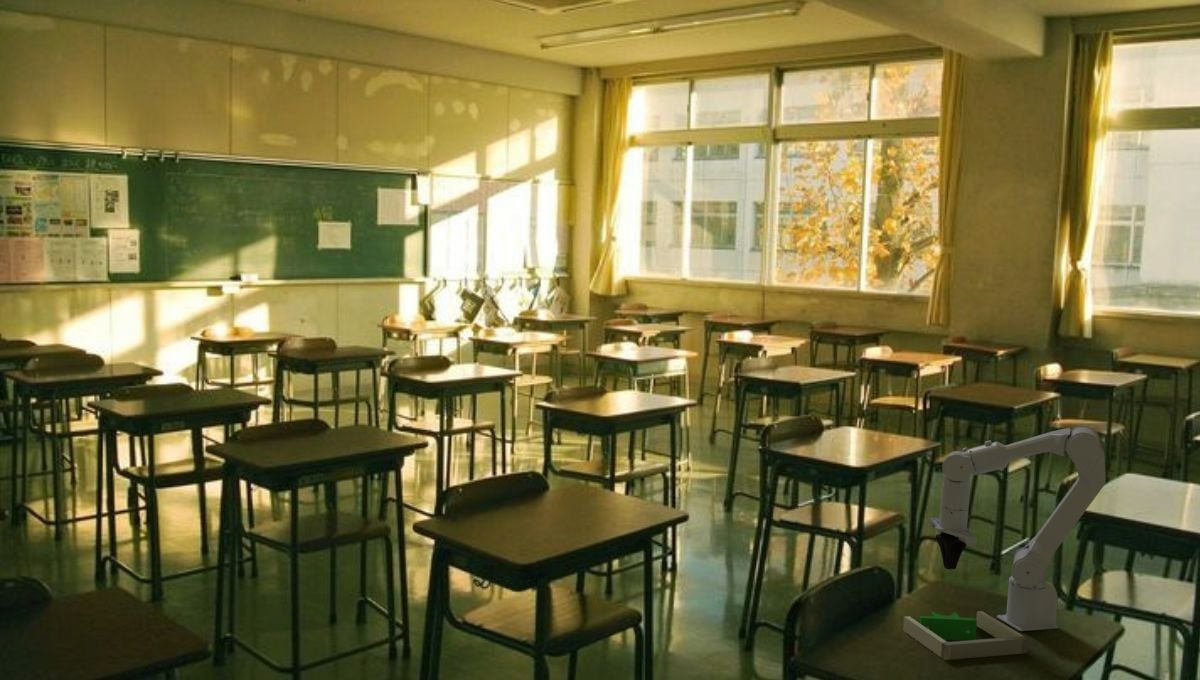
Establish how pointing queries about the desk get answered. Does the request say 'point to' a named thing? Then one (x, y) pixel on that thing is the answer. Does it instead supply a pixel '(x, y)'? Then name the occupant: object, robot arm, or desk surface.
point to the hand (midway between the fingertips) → (949, 568)
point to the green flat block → (950, 626)
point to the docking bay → (1000, 645)
